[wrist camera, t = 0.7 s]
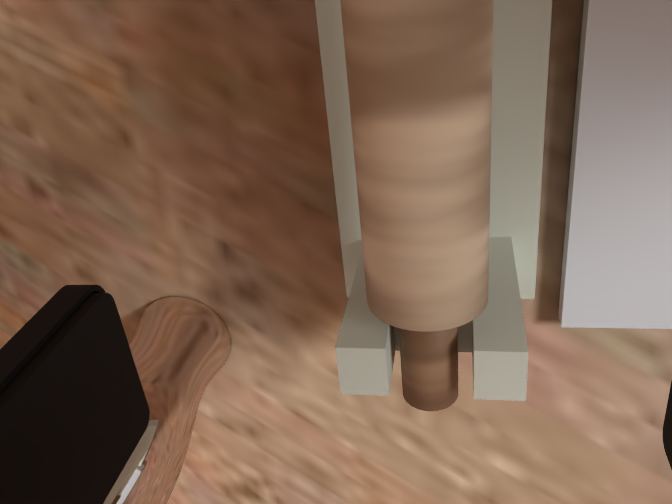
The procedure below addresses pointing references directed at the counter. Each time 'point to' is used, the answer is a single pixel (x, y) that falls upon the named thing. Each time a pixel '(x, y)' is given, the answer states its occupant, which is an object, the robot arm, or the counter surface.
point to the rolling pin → (423, 174)
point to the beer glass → (170, 392)
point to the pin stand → (505, 208)
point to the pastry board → (621, 171)
